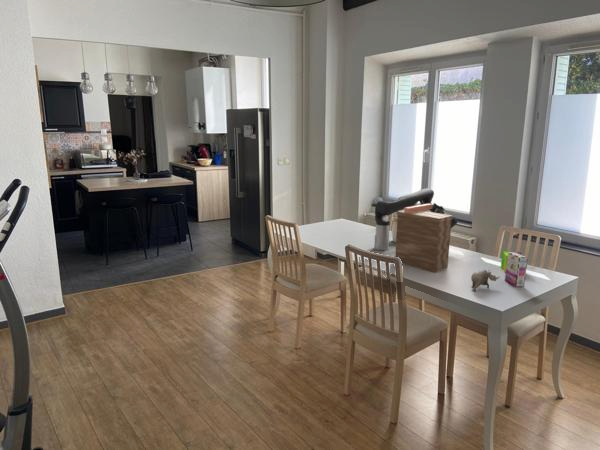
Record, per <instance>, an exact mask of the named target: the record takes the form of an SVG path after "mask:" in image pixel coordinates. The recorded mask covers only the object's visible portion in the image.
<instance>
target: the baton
mask: <svg viewBox="0 0 600 450" xmlns="http://www.w3.org/2000/svg"><path fill="white" fill-rule="evenodd" d="M433 204H434V203H432V204H423V205H421V204H419V205H417V204H416V205H414V206H412V207H406V208H404V213H413V212H418V211H429V209H432V207H433Z"/></svg>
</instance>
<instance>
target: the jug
mask: <svg viewBox="0 0 600 450" xmlns="http://www.w3.org/2000/svg"><path fill="white" fill-rule="evenodd" d="M403 210H404V209H403ZM400 211H402V210H400ZM397 219H398V216H397V217H393V218H392V221H393V223H392V225H391V229H390V230H391V237H392V242H393V243H396V235H397Z"/></svg>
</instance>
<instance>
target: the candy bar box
mask: <svg viewBox="0 0 600 450" xmlns="http://www.w3.org/2000/svg"><path fill="white" fill-rule="evenodd" d="M507 252H508V258H507V267H506V272H505V277H504V282H507V283H508V284H510V285H512V286H514V287H515V288H524V287H525V283H526V282H525V281H526V272H527V266H528V258H529V257H527V256H525V255H524V254H523V255H524V256H523V255H521V254H522V253H521V254H519V253H520V252H519V253H517V252H518V251H517V252H516V251H507Z"/></svg>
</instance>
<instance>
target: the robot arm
mask: <svg viewBox="0 0 600 450" xmlns="http://www.w3.org/2000/svg"><path fill="white" fill-rule="evenodd" d="M434 195H435V191H434V190H433V189H431V188H428V187H427V188H422V189H419V190H418V191H415V192H412V193H410V194H406V195H402V196H400V197H398V199H397V200H395V201H386V200H379V201H377V202H376V204H375V207H374V220H375V234H374V249H373V250H378V251H388V250H389V242H390V224H391V222H390V220H389V218H387V216H390V215H393V214H395V213H397V211H401V210H403V209H404V208H406V207H412V206H416V205H417V204H418V203H420V205H423V204H433V207H432V209H429V210H428V212H434V213H440V214H446V215H450V214H449V213H448V212H447V211H446V210H445V208H444V207H443V206H442V205H438V204H437V203H436V202H434V203H432V202H433V201H432V200H433V199H434ZM457 224H458V220H457V218H456V217H455V216H453V219H452V221H451V229H453V228H454V227H455V226H456V225H457Z"/></svg>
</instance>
